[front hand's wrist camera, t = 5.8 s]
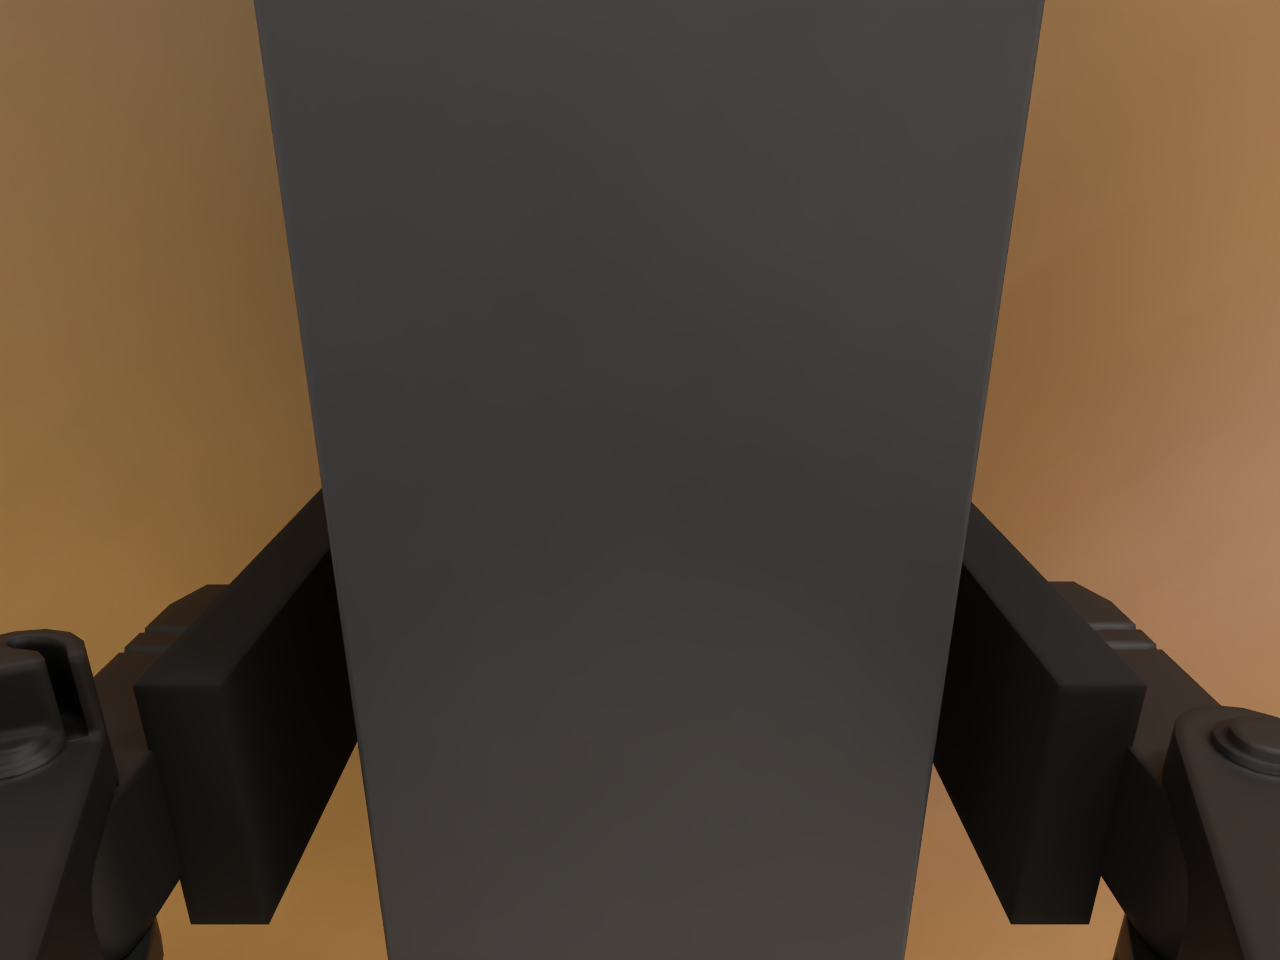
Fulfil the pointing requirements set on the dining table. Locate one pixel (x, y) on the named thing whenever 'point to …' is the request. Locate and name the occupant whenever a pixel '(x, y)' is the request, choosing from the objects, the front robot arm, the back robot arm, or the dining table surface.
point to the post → (647, 446)
